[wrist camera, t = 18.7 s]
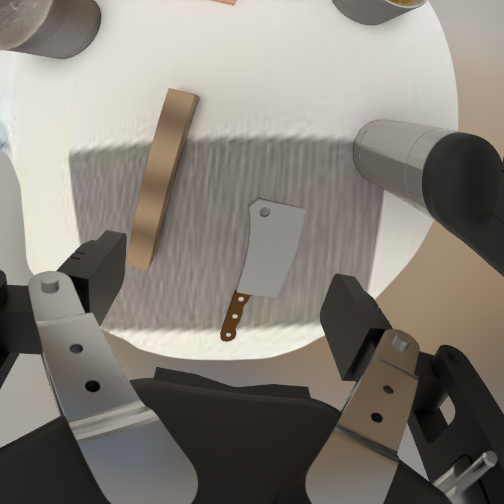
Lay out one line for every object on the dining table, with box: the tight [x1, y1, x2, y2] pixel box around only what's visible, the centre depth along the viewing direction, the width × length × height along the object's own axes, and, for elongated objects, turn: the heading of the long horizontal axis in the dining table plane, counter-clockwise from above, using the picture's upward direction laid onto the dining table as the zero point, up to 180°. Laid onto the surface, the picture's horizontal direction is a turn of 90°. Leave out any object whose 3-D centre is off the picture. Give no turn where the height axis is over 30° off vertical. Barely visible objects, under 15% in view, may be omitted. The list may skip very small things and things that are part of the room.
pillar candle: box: [0, 0, 101, 59], centre depth 24 cm, size 10×10×15 cm
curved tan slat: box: [126, 88, 199, 271], centre depth 38 cm, size 22×3×6 cm, turn 161°
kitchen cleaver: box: [220, 198, 306, 342], centre depth 48 cm, size 24×1×10 cm
